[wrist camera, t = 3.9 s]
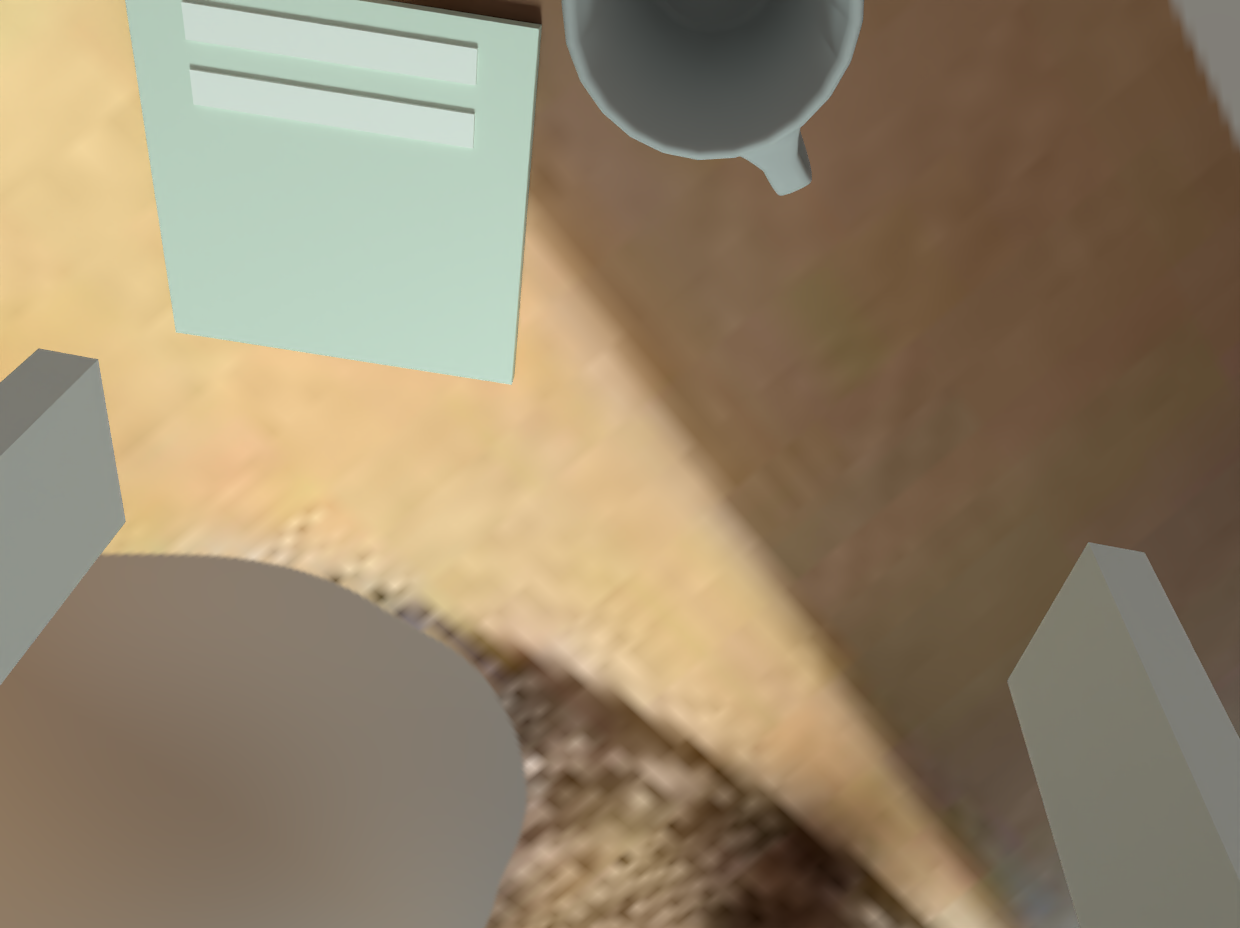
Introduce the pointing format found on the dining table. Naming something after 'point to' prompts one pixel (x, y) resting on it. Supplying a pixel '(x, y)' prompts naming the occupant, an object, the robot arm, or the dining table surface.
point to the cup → (715, 73)
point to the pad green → (342, 175)
